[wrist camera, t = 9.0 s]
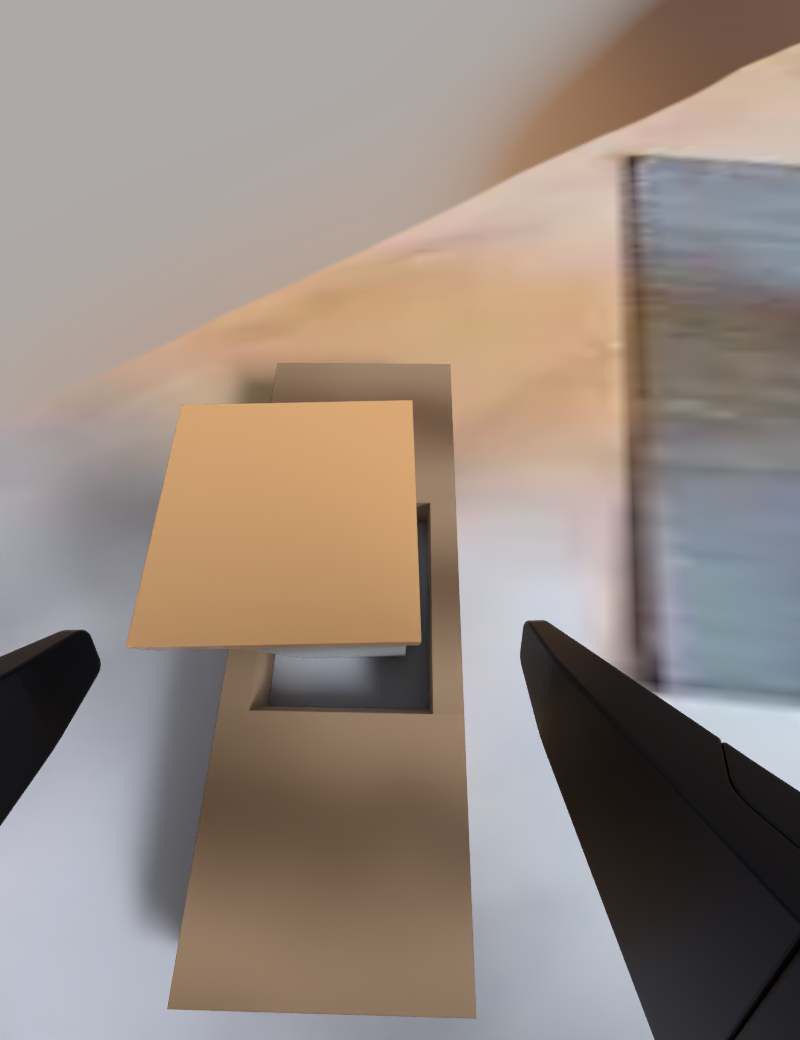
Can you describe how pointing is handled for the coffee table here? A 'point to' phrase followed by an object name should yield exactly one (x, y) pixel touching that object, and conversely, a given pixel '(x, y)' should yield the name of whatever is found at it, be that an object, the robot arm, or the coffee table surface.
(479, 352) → the coffee table surface
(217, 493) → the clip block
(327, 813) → the wooden socket base
